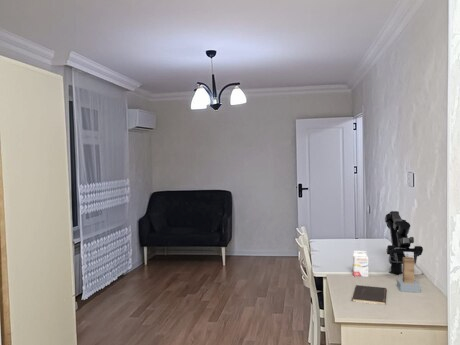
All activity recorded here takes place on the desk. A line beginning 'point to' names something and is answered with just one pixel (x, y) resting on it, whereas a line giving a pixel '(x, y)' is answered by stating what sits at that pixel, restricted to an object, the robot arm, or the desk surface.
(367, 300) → the hardcover book
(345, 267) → the desk surface
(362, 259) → the ink cartridge box
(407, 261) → the walnut post
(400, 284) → the slate plinth
